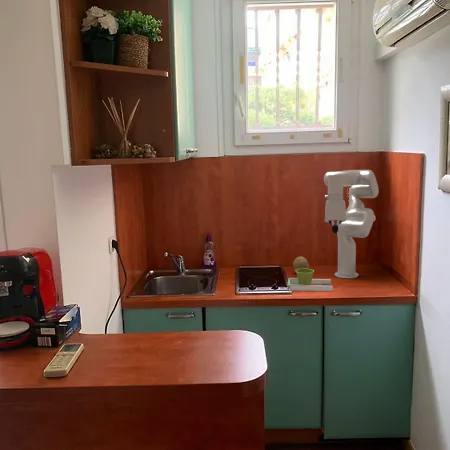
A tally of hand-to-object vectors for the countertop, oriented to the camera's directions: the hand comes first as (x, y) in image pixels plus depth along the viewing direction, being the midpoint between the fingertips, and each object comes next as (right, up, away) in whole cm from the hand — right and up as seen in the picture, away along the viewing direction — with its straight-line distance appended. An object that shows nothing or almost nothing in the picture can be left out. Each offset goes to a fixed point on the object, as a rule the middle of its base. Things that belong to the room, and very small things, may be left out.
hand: (335, 233), depth 238 cm
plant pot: (-15, -28, +1) cm, 32 cm away
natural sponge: (-13, -24, +28) cm, 39 cm away
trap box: (-13, -28, 0) cm, 31 cm away
